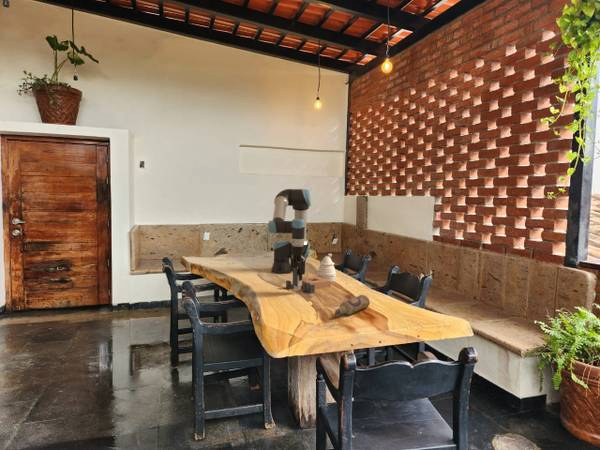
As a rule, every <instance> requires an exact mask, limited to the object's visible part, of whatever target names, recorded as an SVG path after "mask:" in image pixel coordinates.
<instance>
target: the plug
mask: <svg viewBox="0 0 600 450" xmlns="http://www.w3.org/2000/svg"><path fill="white" fill-rule="evenodd" d="M297 274H298V267H297V268H293V273H292V285H294V288H295V290H300V289H302V287H301V286H297V276H298V275H297Z"/></svg>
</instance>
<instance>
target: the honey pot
mask: <svg viewBox="0 0 600 450" xmlns="http://www.w3.org/2000/svg"><path fill="white" fill-rule="evenodd" d="M332 256H333V254H332V253H328V254H327V255H325V256H324V257H323V258H322V259H321V261H320V263H319V264H320V265H319V266H318V270H317V275H316V276H318V277H321V278H324V279H327V280H330V281H331V283H333V282H332V281H334V282H336V281H337V271H336V269H335V266H334V265H335V262H333V261H332V258H331V257H332ZM335 280H336V281H335Z"/></svg>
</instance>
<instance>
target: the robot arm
mask: <svg viewBox="0 0 600 450" xmlns="http://www.w3.org/2000/svg"><path fill="white" fill-rule="evenodd" d="M311 200H312V199H311V193H310V190H309V189H304V188H298V189H297V188H285V189H283V190H281V191H280V192H278V193H277V194H276V195H275V197H274V200H273V203H274V210H273V214H272V215H273V217H272V220H269V221H268V225H267V230H268V233H270V234H291V242H290V240H279V241H276V242H274V244H273V264H272V266H271V269H270V272H271V273H273V274H279V275H285V274H291V273H292V274H293V268H298V274H297V275H298V276H297V286H302V278H303V275H305V273H306V260H307V259H308V257H309V255H310V247H311V243H310V242H309V240H308V238H307V217H308V213H307V211H308V210H309V208H310V207H311V206H312V201H311ZM289 206H290V207H291V206H292V209H293V210H294V219H292V220H286V213H287V207H289Z"/></svg>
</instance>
